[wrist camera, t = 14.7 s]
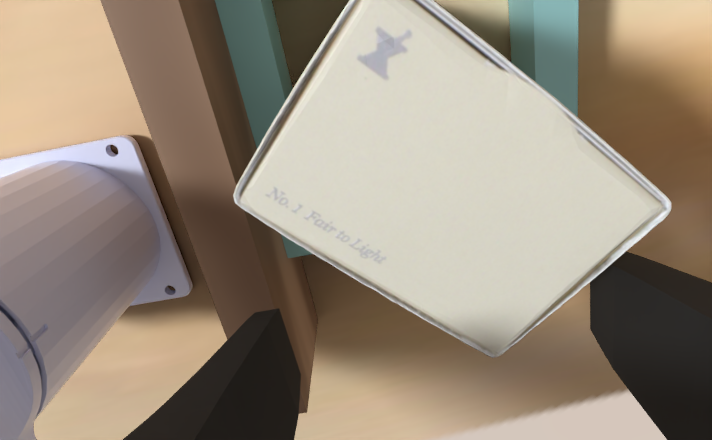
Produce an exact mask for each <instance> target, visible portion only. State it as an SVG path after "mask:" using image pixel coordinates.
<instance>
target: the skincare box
mask: <svg viewBox="0 0 712 440" xmlns="http://www.w3.org/2000/svg"><path fill="white" fill-rule="evenodd" d="M233 197H234V201H235V204H237V205H238V206H239V207H241V208H242V209H243V210H245V211H246V212H248V213H250V214H251V215H253V216H254V217H256V218H257V219H259V220H260V221H262V222H263V223H265V224H266V225H268V226H270V227H271V228H273V229H274V230H276V231H277V232H279V233H280V234H282V235H283V236H285V237H286V238H288V239H289V240H291V241H293V242H294V243H296V244H298V245H299V246H301V247H303V248H305V249H306V250H308V251H309V252H311V253H312V254H314V255H316V256H317V257H319V258H320V259H322V260H324V261H326V262H328V263H329V264H331V265H333V266H334V267H336V268H337V269H339V270H341V271H342V272H344V273H345V274H347V275H349V276H350V277H352V278H354V279H355V280H357V281H359V282H360V283H362V284H363V285H365V286H367V287H369V288H371V289H373V290H375V291H376V292H378V293H380V294H381V295H383V296H385V297H386V298H388V299H389V300H391V301H392V302H394V303H397V304H398V305H400V306H401V307H403V308H405V309H407V310H408V311H410V312H412V313H414V314H415V315H417V316H419V317H420V318H422V319H424V320H425V321H427V322H429V323H431V324H433V325H435V326H437V327H438V328H440V329H442V330H443V331H445V332H447V333H448V334H450V335H452V336H453V337H455V338H457V339H459V340H461V341H462V342H464V343H465V344H467V345H469V346H471V347H473V348H475V349H477V350H478V351H481V352H483V353H484V354H486V355H487V356H490V357H498V356H500V355H502V354H503V353H505V352H506V351H507V350H508V349H509V348H510V347H512V346H513V345H515V344H516V343H517V342H518V341H519V340H521V339H522V338H523V337H524V336H525V335H526V334H527V333H529V332H530V331H531V330H532V329H533V328H535V327H536V326H537V325H538V324H540V323H541V322H542V321H544V320H545V319H546V318H547V317H548V316H549V315H551V314H552V313H553V312H554V311H556V310H557V309H558V308H559V307H561V306H562V305H563V304H564V303H565V302H566V301H568V300H569V299H570V298H572V297H573V296H574V295H575V294H576V293H578V292H579V291H580V290H581V289H582V288H583V287H584V286H586V285H587V284H588V283H589V282H591V281H592V280H593V279H594V278H595V277H597V276H598V275H599V274H600V273H601V272H603V271H604V270H605V269H606V268H607V267H608V266H610V265H611V264H612V263H613V262H614V261H615V260H617V259H618V258H619V257H620V256H621V255H622V254H624V253H625V252H626V251H627V250H628V249H629V248H630V247H632V246H633V245H634V244H635V243H637V242H638V241H639V240H640V239H642V238H643V237H644V236H645V235H646V234H648V233H649V232H650V231H651V230H652V229H653V228H654V227H655V226H657V225H658V224H659V223H660V222H661V221H663V220H664V219H665V218H666V217H667V216H668V215H669V213H670V211H671V201H670V200H669V198H668V197H667V196H666V195H665V194H664V193H663V192H662V191H661V190H659V189H658V188H657V187H656V186H655V185H654V184H653V183H652V182H650V181H649V180H648V179H647V178H646V177H645V176H644V175H643V174H642V173H641V172H640V171H638V170H637V169H636V168H635V167H634V166H633V165H632V164H631V163H629V162H628V161H627V160H626V159H625V158H624V157H623V156H621V155H620V154H619V153H618V152H617V151H616V150H614V149H613V148H612V147H611V146H610V145H609V144H608V143H607V142H605V141H604V140H603V139H602V138H601V137H600V136H599V135H597V134H596V133H595V132H594V131H593V130H592V129H591V128H589V127H588V126H587V125H586V124H585V123H584V122H583V121H582V120H580V119H579V118H578V117H577V116H576V115H575V114H573V113H572V112H571V111H570V110H569V109H568V108H567V107H565V106H564V105H563V104H562V103H561V102H560V101H558V100H557V99H556V98H555V97H554V96H552V95H551V94H550V93H549V92H547V91H546V90H545V89H544V88H542V87H541V86H540V85H539V84H537V83H536V82H535V81H534V80H532V79H531V78H530V77H529V76H527V75H526V74H525V73H524V72H522V71H521V70H520V69H519V68H517V67H516V66H515V65H514V64H513V63H511V62H510V61H509V60H508V59H507V58H505V57H504V56H503V55H502V54H501V53H500V52H498V51H497V50H496V49H495V48H493V47H492V46H491V45H490V44H488V43H487V42H486V41H485V40H483V39H482V38H481V37H480V36H478V35H477V34H476V33H474V32H473V31H472V30H471V29H469V28H468V27H467V26H466V25H464V24H463V23H462V22H461V21H459V20H458V19H457V18H455V17H454V16H453V15H451V14H450V13H449V12H448V11H446V10H445V9H444V8H443V7H442V6H440V5H439V4H438V3H437V2H435V1H434V0H349V2H348V3H347V5H346V6H345V8H344V9H343V11H342V12H341V14H340V15H339V17H338V18H337V20H336V21H335V23H334V25H333V26H332V28H331V29H330V31H329V32H328V34H327V35H326V37H325V39H324V40H323V42H322V43H321V45H320V46H319V48H318V49H317V51H316V53H315V54H314V56H313V57H312V59H311V60H310V62H309V64H308V65H307V67H306V68H305V70H304V72H303V73H302V75H301V76H300V78H299V80H298V81H297V83H296V84H295V86H294V88H293V89H292V91H291V93H290V94H289V96H288V98H287V99H286V101H285V103H284V104H283V106H282V108H281V109H280V111H279V113H278V114H277V116H276V118H275V119H274V121H273V122H272V124H271V126H270V127H269V129H268V131H267V133H266V134H265V136H264V138H263V140H262V142H261V143H260V145H259V147H258V148H257V150H256V152H255V154H254V155H253V157H252V159H251V161H250V162H249V164H248V166H247V168H246V169H245V171H244V173H243V175H242V176H241V178H240V180H239V182H238V184H237V185H236V188H235V191H234V194H233Z"/></svg>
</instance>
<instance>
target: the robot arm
mask: <svg viewBox="0 0 712 440" xmlns="http://www.w3.org/2000/svg"><path fill="white" fill-rule="evenodd" d="M111 145H114V146H116V147H117V149H118V152H119V153H118V154H115V153H113V152H112V151H111V148H110V146H111ZM168 286H172V287H174V288H175V291H174V290H170V289H169V288H168ZM192 287H193V285H192V281H191V279H190V276H189V274H188V271H187V268H186V266H185V263H184V261H183V258H182V256H181V253H180V250H179V248H178V245H177V243H176V240H175V238H174V235H173V232H172V230H171V227H170V225H169V222H168V220H167V217H166V214H165V212H164V209H163V207H162V204H161V202H160V199H159V196H158V194H157V191H156V189H155V186H154V184H153V181H152V178H151V176H150V173H149V171H148V168H147V166H146V163H145V160H144V158H143V155H142V153H141V150H140V148H139V145H138V143H137V141H136V140H135V139H134V138H133V137H131V136H128V135H121V136H116V137H111V138H106V139H101V140H96V141H91V142H85V143H80V144H75V145H70V146H65V147H60V148H55V149H50V150H45V151H40V152H35V153H30V154H25V155H20V156H15V157H10V158H5V159H0V440H37V439H36V437H35V435H34V421H35V419H36V418H37V417H38V416H39V414H40V413H41V412H42V411H43V410H44V408H45V407H46V406H47V405H48V404H49V402H50V401H51V400H52V399H53V397H54V396H55V395H56V394H57V393H58V391H59V390H60V389H61V388H62V387H63V385H64V384H65V383H66V382H67V381H68V379H69V378H70V377H71V376H72V374H73V373H74V372H75V371H76V370H77V368H78V367H79V366H80V365H81V364H82V362H83V361H84V360H85V359H86V358H87V356H88V355H89V354H90V353H91V351H92V350H93V349H94V348H95V347H96V345H97V344H98V343H99V342H100V341H101V339H102V338H103V337H104V336H105V335H106V333H107V332H108V331H109V330H110V328H111V327H112V326H113V325H114V324H115V322H116V321H117V320H118V319H119V318H120V316H121V315H122V314H123V313H124V311H125V310H126V309H127V308H128V307H129V306H132V305H138V304H144V303H150V302H156V301H161V300H167V299H173V298H179V297H184V296H187V295H188V294H189V293H190V292H191V290H192ZM590 329H591V331H592V333H593V335H594V336H595V338H596V340H597V342H598V344H599V345H600V347H601V349H602V351H603V352H604V354H605V356H606V358H607V359H608V361H609V363H610V364H611V366H612V368H613V369H614V370H615V372H616V373H617V374H618V376H619V377H620V379H621V380H622V381H623V383H624V384H625V385H626V386H627V388H628V389H629V390H630V392H631V393H632V394H633V396H634V397H635V398H636V400H637V401H638V402H639V403H640V405H641V406H642V407H643V409H644V410H645V411H646V413H647V414H648V415H649V417H650V418H651V419H652V420H653V422H654V423H655V424H656V426H657V427H658V428H659V430H660V431H661V432H662V433H663V435H664V436H665V437H666V439H667V440H712V283H711V282H708V281H706V280H703V279H700V278H697V277H695V276H692V275H689V274H687V273H684V272H681V271H679V270H676V269H673V268H671V267H668V266H665V265H663V264H660V263H657V262H655V261H652V260H649V259H646V258H644V257H641V256H638V255H635V254H632V253H629V252H625V253H624V254H622V255H621V256H620V257H619V258H618V259H617V260H615V261H614V262H613V263H612V264H611V265H610V266H608V267H607V268H606V269H605V270H604V271H603V272H601V273H600V274H599V275H598V276H597V277H595V278H594V279H593V280H592V281H591V282H590ZM300 386H301V373H300V370H299V367H298V364H297V361H296V358H295V355H294V352H293V349H292V346H291V343H290V340H289V337H288V334H287V331H286V327H285V324H284V321H283V318H282V315H281V312H280V309H279V308H278V309H272V310H266V311H260V312H255V313H254V314H253V315H251V316H250V317H249V318H248V319H247V320H246V321H245V322H244V323H243V324H242V325H241V326H240V327H239V329H238V330H237V331H236V332H235V333H234V334H233V335H232V336H231V337H230V338H229V339H228V340H227V341H226V342H225V343H224V344H223V346H222V347H221V348H220V349H219V350H218V351H217V352H216V353H215V354H214V355H213V356H212V357H211V358H210V359H209V360H208V361H207V362H206V363H205V364H204V365H203V367H202V368H201V369H200V370H199V371H198V372H197V373H196V374H195V375H194V376H192V377H191V378H190V379H189V380H188V381H187V382H186V383H185V384H184V385H183V386H182V387H181V388H180V389H179V390H178V391H177V392H176V393H175V394H174V395H173V396H172V397H171V398H170V399H169V400H168V401H167V402H166V403H165V404H164V405H162V406H161V407H160V408H159V409H158V410H157V411H156V412H155V413H154V414H152V415H151V416H150V417H149V418H148V419H147V420H146V421H144V422H143V423H142V424H141V425H140V426H139V427H137V428H136V429H135V430H134V431H132V432H131V433H130V434H129V435H128V436H126V437H125V438H124V439H123V440H294V436H295V431H296V426H297V420H298V414H299V402H300Z"/></svg>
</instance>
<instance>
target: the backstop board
mask: <svg viewBox="0 0 712 440" xmlns="http://www.w3.org/2000/svg"><path fill="white" fill-rule="evenodd" d="M101 3H102V6H103V8H104V11H105V14H106V16H107V19H108V22H109V24H110V27H111V30H112V32H113V35H114V38H115V40H116V43H117V46H118V48H119V51H120V54H121V56H122V59H123V62H124V64H125V67H126V70H127V73H128V75H129V78H130V81H131V83H132V86H133V89H134V91H135V94H136V97H137V99H138V102H139V105H140V107H141V110H142V113H143V115H144V118H145V121H146V123H147V126H148V129H149V131H150V134H151V137H152V139H153V142H154V145H155V147H156V150H157V153H158V155H159V158H160V161H161V163H162V166H163V169H164V171H165V174H166V177H167V179H168V182H169V185H170V187H171V190H172V193H173V195H174V198H175V201H176V203H177V206H178V209H179V211H180V214H181V217H182V219H183V222H184V225H185V227H186V230H187V233H188V235H189V238H190V241H191V243H192V246H193V249H194V251H195V254H196V257H197V259H198V262H199V265H200V268H201V270H202V273H203V276H204V278H205V281H206V284H207V286H208V289H209V292H210V294H211V297H212V300H213V302H214V305H215V308H216V310H217V313H218V316H219V318H220V321H221V324H222V326H223V329H224V332H225V334H226V337H227V340H228V339H229V338H230V337H231V336H232V335H233V334H234V333H235V332H236V331H237V330H238V329H239V327H240V326H241V325H242V324H243V323H244V322H245V321H246V320H247V319H248V318H249V317H250V316H251V315H253V314H254V313H255V312H260V311H266V310H272V309H278V308H279V309H280V312H281V315H282V318H283V321H284V324H285V327H286V331H287V334H288V337H289V340H290V343H291V346H292V349H293V352H294V355H295V358H296V361H297V364H298V367H299V370H300V373H301V386H300V402H299V413H305V412H307V408H308V399H309V391H310V383H311V374H312V366H313V357H314V349H315V340H316V332H317V324H318V319H317V315H316V311H315V308H314V304H313V300H312V297H311V293H310V289H309V285H308V282H307V278H306V274H305V271H304V267H303V263H302V259H301V256H299V257H293V258H288V257H287V254H286V250H285V246H284V243H283V239H282V236H281V234H280V233H279V232H277V231H276V230H274V229H273V228H271V227H270V226H268V225H266V224H265V223H263V222H262V221H260V220H259V219H257V218H256V217H254V216H253V215H251V214H250V213H248V212H246V211H245V210H243V209H242V208H241V207H239V206H238V205H237V204H235V201H234V197H233V194H234V191H235V188H236V185H237V184H238V182H239V180H240V178H241V176H242V175H243V173H244V171H245V169H246V168H247V166H248V164H249V162H250V161H251V159H252V157H253V155H254V154H255V152H256V150H257V148H256V144H255V141H254V137H253V134H252V130H251V127H250V123H249V119H248V116H247V112H246V109H245V105H244V102H243V98H242V95H241V91H240V88H239V84H238V81H237V77H236V74H235V70H234V67H233V63H232V60H231V56H230V52H229V49H228V45H227V42H226V38H225V35H224V31H223V28H222V24H221V21H220V17H219V14H218V10H217V7H216V3H215V0H101Z"/></svg>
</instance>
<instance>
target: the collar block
mask: <svg viewBox="0 0 712 440" xmlns="http://www.w3.org/2000/svg"><path fill="white" fill-rule="evenodd" d="M215 3H216V7H217V10H218V14H219V17H220V21H221V24H222V28H223V31H224V35H225V38H226V42H227V45H228V49H229V52H230V56H231V60H232V63H233V67H234V70H235V74H236V77H237V81H238V84H239V88H240V91H241V95H242V98H243V102H244V105H245V109H246V112H247V116H248V119H249V123H250V127H251V130H252V134H253V137H254V141H255V144H256V148H258V147H259V145H260V143H261V142H262V140H263V138H264V136H265V134H266V133H267V131H268V129H269V127H270V126H271V124H272V122H273V121H274V119H275V118H276V116H277V114H278V113H279V111H280V109H281V108H282V106H283V104H284V103H285V101H286V99H287V98H288V96H289V94H290V93H291V91H292V89H293V88H292V83H291V79H290V75H289V71H288V67H287V62H286V58H285V54H284V50H283V46H282V41H281V37H280V33H279V29H278V25H277V20H276V16H275V12H274V8H273V4H272V0H215ZM508 3H509V23H510V44H511V63H513V64H514V65H515V66H516V67H517V68H519V69H520V70H521V71H522V72H524V73H525V74H526V75H527V76H529V77H530V78H531V79H532V80H534V81H535V82H536V83H537V84H539V85H540V86H541V87H542V88H544V89H545V90H546V91H547V92H549V93H550V94H551V95H552V96H554V97H555V98H556V99H557V100H558V101H560V102H561V103H562V104H563V105H564V106H565V107H567V108H568V109H569V110H570V111H571V112H572V113H573V114H575V115H576V116H577V117H578V0H508ZM281 236H282V239H283V243H284V246H285V250H286V254H287V257H288V258H293V257H299V256H305V255H310V254H312V253H311V252H309V251H308V250H306V249H305V248H303V247H301V246H299V245H298V244H296V243H294V242H293V241H291V240H289V239H288V238H286V237H285V236H283V235H282V234H281Z"/></svg>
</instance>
